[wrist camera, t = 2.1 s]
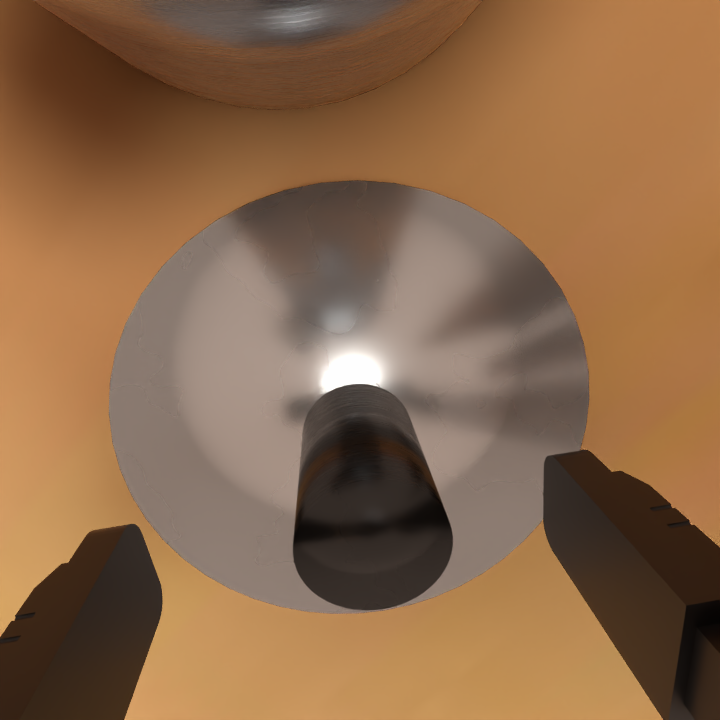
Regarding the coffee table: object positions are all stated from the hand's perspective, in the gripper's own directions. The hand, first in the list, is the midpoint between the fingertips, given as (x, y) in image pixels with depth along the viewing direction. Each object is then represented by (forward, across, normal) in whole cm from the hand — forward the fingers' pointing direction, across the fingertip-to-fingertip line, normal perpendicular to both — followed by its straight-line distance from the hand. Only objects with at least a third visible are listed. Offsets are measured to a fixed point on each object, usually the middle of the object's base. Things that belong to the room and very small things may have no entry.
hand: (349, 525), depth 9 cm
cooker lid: (+5, 0, 0) cm, 5 cm away
